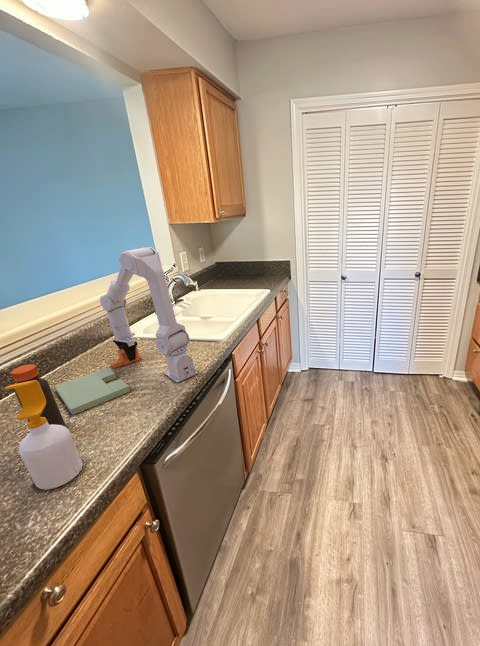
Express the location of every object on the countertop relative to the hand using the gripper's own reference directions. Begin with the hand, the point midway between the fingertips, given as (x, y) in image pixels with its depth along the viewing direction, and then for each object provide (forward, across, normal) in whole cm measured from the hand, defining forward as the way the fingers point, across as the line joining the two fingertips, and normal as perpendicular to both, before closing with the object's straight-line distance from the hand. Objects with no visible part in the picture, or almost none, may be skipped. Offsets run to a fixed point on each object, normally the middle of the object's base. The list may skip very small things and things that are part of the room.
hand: (129, 357), depth 125 cm
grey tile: (+1, -13, +17) cm, 21 cm away
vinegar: (+2, -28, +31) cm, 42 cm away
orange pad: (+1, 0, +2) cm, 2 cm away
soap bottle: (+2, -47, +33) cm, 57 cm away
